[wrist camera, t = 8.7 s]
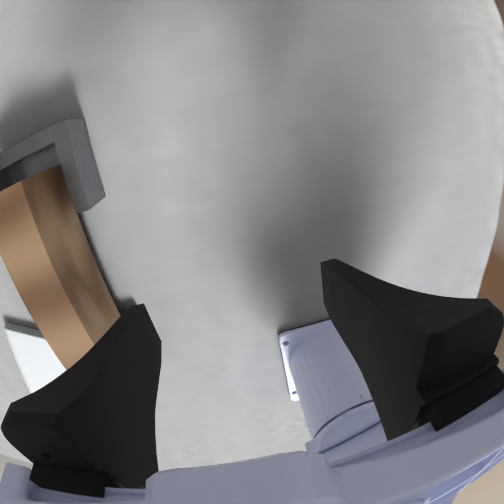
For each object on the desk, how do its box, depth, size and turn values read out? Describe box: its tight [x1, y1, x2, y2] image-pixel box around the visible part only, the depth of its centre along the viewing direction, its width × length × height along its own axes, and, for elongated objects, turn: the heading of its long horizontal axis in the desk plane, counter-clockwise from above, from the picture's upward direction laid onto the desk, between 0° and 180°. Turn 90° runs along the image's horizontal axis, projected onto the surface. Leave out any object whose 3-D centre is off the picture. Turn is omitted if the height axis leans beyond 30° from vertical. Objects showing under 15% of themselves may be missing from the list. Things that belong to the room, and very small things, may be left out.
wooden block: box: [0, 164, 120, 370], centre depth 17 cm, size 14×4×5 cm, turn 11°
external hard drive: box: [4, 322, 66, 393], centre depth 24 cm, size 2×8×12 cm
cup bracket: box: [0, 118, 105, 214], centre depth 16 cm, size 6×8×3 cm
